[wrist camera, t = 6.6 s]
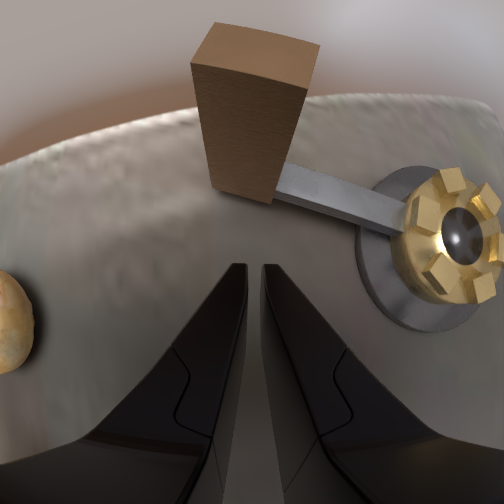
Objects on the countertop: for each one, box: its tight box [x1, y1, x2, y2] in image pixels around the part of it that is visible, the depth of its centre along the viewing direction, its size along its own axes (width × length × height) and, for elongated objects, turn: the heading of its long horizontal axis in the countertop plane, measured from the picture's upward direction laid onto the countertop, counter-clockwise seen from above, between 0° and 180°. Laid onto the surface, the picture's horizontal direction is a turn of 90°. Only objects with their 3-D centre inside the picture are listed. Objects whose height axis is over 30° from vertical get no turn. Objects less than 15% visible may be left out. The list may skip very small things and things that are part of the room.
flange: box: [355, 166, 482, 332], centre depth 22 cm, size 13×13×2 cm
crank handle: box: [190, 22, 504, 305], centre depth 15 cm, size 22×9×12 cm, turn 74°
